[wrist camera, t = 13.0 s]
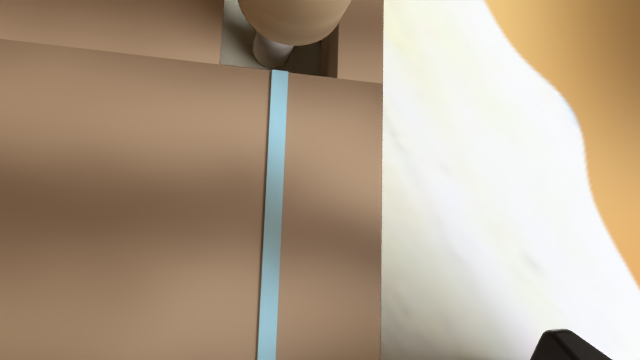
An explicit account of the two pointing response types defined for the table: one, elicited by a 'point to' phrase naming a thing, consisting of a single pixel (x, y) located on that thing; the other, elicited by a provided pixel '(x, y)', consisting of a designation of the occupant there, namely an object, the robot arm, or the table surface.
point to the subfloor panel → (185, 188)
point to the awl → (289, 25)
